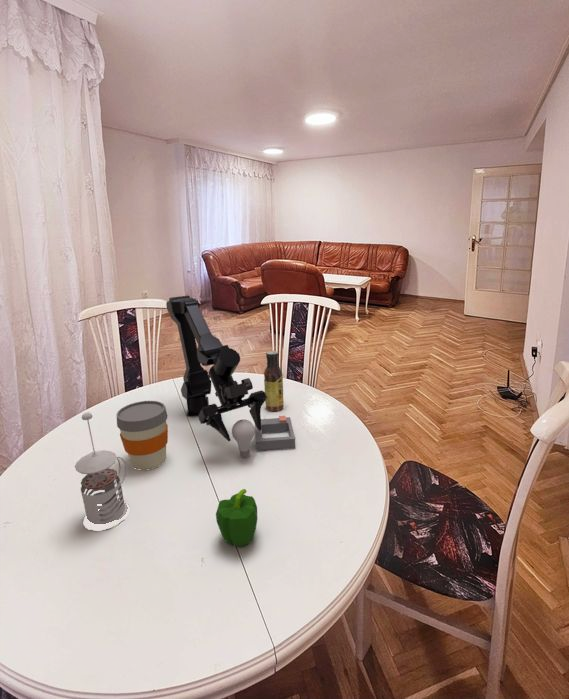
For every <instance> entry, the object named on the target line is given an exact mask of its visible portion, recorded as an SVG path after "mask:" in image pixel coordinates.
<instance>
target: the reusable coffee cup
mask: <svg viewBox="0 0 569 699" xmlns="http://www.w3.org/2000/svg"><path fill="white" fill-rule="evenodd" d="M167 419H168V413H167V408H166V405H165V404H164V403H163V402H161V401H157V400H143V401H142V400H141V401H136V402H133V403H130V404H127V405H125V406H123V407H121V408H120V409H119V410H118V411H117V413H116V426H117V428H118V429H119V431H120V433H119V436H120V440H121V443H122V446H123V448H124V451H125V453H126V454H127V455H128V458H129V461H130V465H131V467H132V466H133V467H134V468H136V469H135V470H137V469H141V470H140V471H148V470H147V469H150V470H153V469H152V468H154V469H156V468H159V465H160V466H161V465H163V464H164V463H165V462H166V460H167V445H168V442H169V441H168V437H169V429H168V427H169V426H168V423H167ZM165 459H166V460H165ZM164 461H165V462H164ZM163 462H164V463H163ZM162 463H163V464H162ZM133 467H132V468H133ZM155 467H156V468H155ZM134 468H133V469H134Z"/></svg>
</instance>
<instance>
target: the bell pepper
mask: <svg viewBox="0 0 569 699" xmlns="http://www.w3.org/2000/svg"><path fill="white" fill-rule="evenodd" d="M246 493H247V489H246V488H242V489H241V490H239V491H238V493H235V494H233V495H231V497H230V499H222V500H220V501H219V503H218V506H217V510H216V512H215V519H216V524H217V526H218V529H219V531H220V534H221V536H222V539H223V541H225V542H226V543H227V544H229V545H232V544H233V545H234V546H236V547H239V548H241V547H245V546H247V545H249V544H250V543H251V542H252V541H253V540H254V537H255V533H256V529H257V524H258V506H257V503H256V500H255V498H254V497H253V496H250V495H246Z"/></svg>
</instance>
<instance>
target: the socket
mask: <svg viewBox="0 0 569 699" xmlns="http://www.w3.org/2000/svg"><path fill="white" fill-rule="evenodd" d="M254 428H255V434H254V438H255V452H261V451H262V452H264V451H276V450H278V451H279V450H287V449H289V450H290V449H296V437H295V433H294V427H293V423H292V420H291V417H290V416H287V417H286V415H279V416H278V417H276V418H275V417H274V418H261V430H260V431H259V430H258V428H257V427H256V425H255V424H254ZM277 433H288V436H277V437H263V435H264V434H277Z"/></svg>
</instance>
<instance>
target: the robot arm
mask: <svg viewBox="0 0 569 699" xmlns="http://www.w3.org/2000/svg"><path fill="white" fill-rule="evenodd" d="M165 304H166V306H165V307H166V310H167V312H168V313H169V316H170V318H171V320H172V321H173V322H174V323H175V324H176V325H177V330H178V334H179V339H180V343H181V348H182V354H183V358H184V363H185V364H184V365H185V371H184V373H183V382H182V383H183V384H182V386H181V388H180V392H181V396H182V397H183V398H184V400H186V407H187V414H186V416H187V417H194V416H198V417H197V418H198V420H199V424H200V425H203V424H205V425H206V426H210V427H212V428H213V429H214V430H216V431H217V432H218V433H219V434H220V435H221V436H222V437H223V438H224V439H225V440H226V441H227V442H230V441H231V436H230V434H229V431H228V430H227V427H226V426H225V423H224V421H223V416H222V414H224V413H228V412H231V411H235V410H238V409H241V408H244V407H248V408H250V409H249V414H250V416H251V418H252V420H253V422H254V423H253V424H254V426H255V425H256V427H257V428H258V430H259V431H260V430H261V419H262V418H261V416H262V415H261V412H262V411H261V409H262V407H263V405H264V404H265V401H266V399H267V398H268V397H267V395H266V393H265V390H257V391H254V392H251V393H250V394H249V391H252V390H253V388H254V387H253V386H254V385H253V382H252V380H251V379H250V377H248V378H243V379H241V381H240V382H241V383H238V381H237V380H235V379H234V377H233V374H234V372H235V371H236V369H237V368H238V366H239V364H240V362H241V355H240V353H238V352H237V351H236V350H235V349H233V348H230V347H229V345H228V344H222V342H221V340H220V339H219V338H217V337H216V336H215V335H214V334H212V332H211V330H210V328H209V325H208V323H207V321H206V319H205V317H204V314H203V313H202V311H201V308H200V303H199V300H197V298H193V297H191V296H190V295H181V296H179V295H178V296H173V297H169V299H168V301H166V303H165ZM203 366H204V367H207V366H211V367H210V368H209V371H207V369H205V368H204V367H203ZM212 386H213V388H214V390H215V393H214V394H215V397H217V398H218V400H219V403H220V406H218V405H217V404H216V403H211V404H210V401H209V400H210V399H209V396H207V395H210V394H212ZM246 395H248V397H247V398H245V397H246Z"/></svg>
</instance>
